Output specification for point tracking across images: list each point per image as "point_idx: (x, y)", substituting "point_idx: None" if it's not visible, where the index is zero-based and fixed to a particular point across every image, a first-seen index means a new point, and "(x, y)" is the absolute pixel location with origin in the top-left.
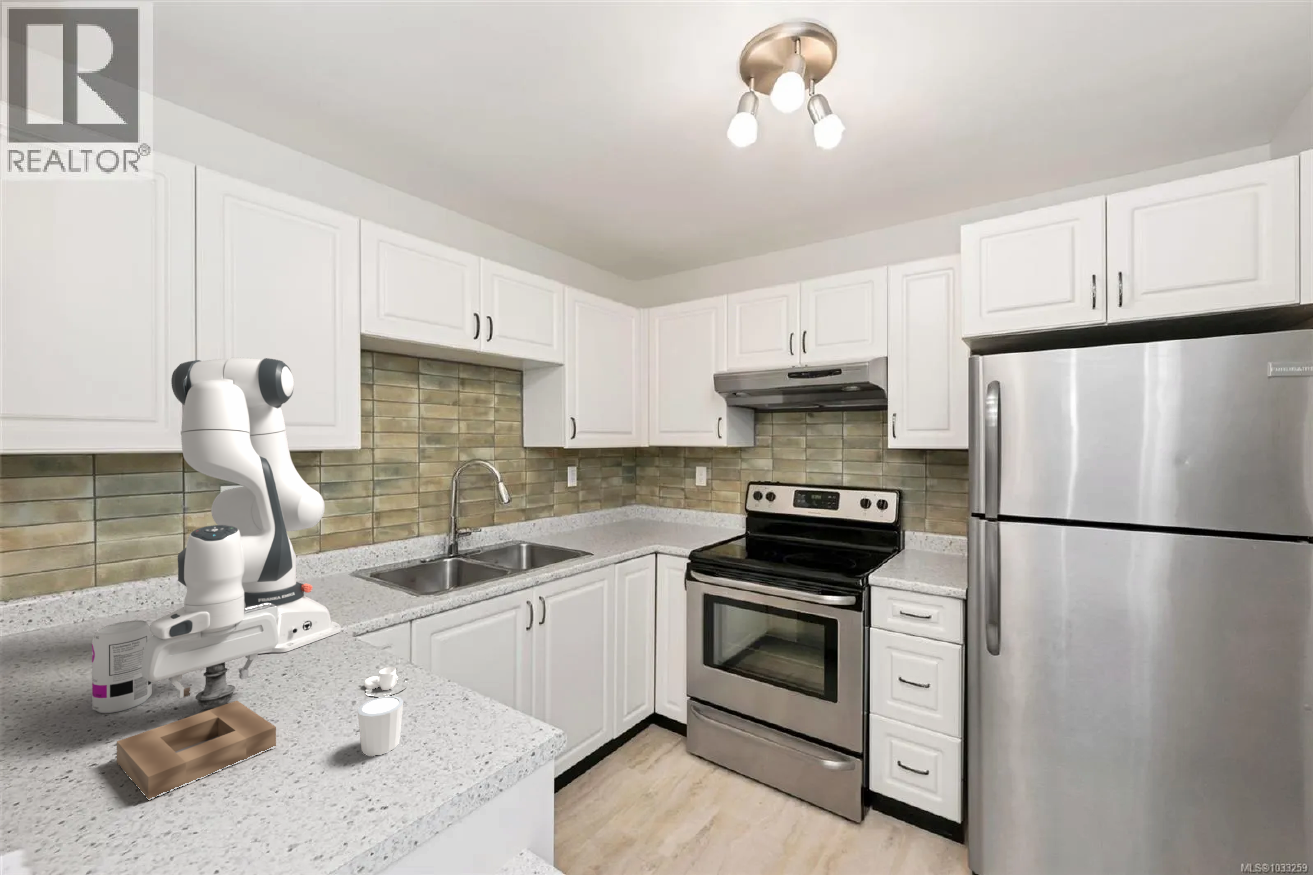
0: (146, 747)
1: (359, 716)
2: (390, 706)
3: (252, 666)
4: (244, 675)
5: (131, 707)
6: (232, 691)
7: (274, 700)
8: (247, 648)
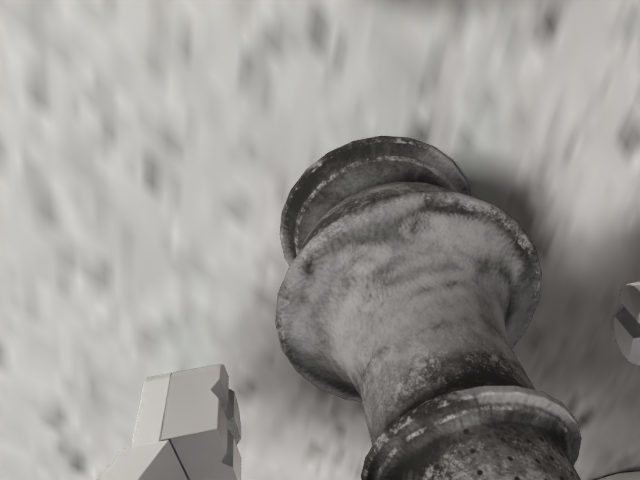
0: None
1: None
2: None
3: (114, 463)
4: (201, 388)
5: (608, 477)
6: (309, 244)
7: (10, 130)
8: None
